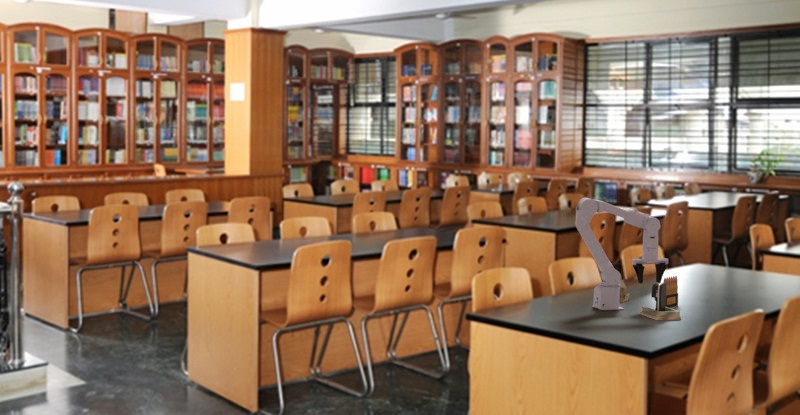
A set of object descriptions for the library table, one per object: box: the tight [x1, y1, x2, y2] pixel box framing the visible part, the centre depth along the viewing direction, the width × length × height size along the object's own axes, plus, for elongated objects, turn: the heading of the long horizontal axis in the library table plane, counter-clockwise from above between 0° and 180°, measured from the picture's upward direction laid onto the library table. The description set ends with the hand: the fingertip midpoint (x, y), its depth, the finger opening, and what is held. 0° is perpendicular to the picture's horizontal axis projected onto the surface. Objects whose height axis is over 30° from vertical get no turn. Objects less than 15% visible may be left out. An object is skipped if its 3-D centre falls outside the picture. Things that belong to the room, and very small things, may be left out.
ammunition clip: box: [662, 275, 679, 308], centre depth 361 cm, size 11×2×12 cm, turn 136°
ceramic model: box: [619, 279, 631, 304], centre depth 373 cm, size 14×11×10 cm
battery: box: [650, 282, 666, 311], centre depth 340 cm, size 7×4×11 cm, turn 147°
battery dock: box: [638, 306, 682, 321], centre depth 340 cm, size 10×12×3 cm
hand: (649, 282), depth 353 cm, fingers open, 7 cm apart
